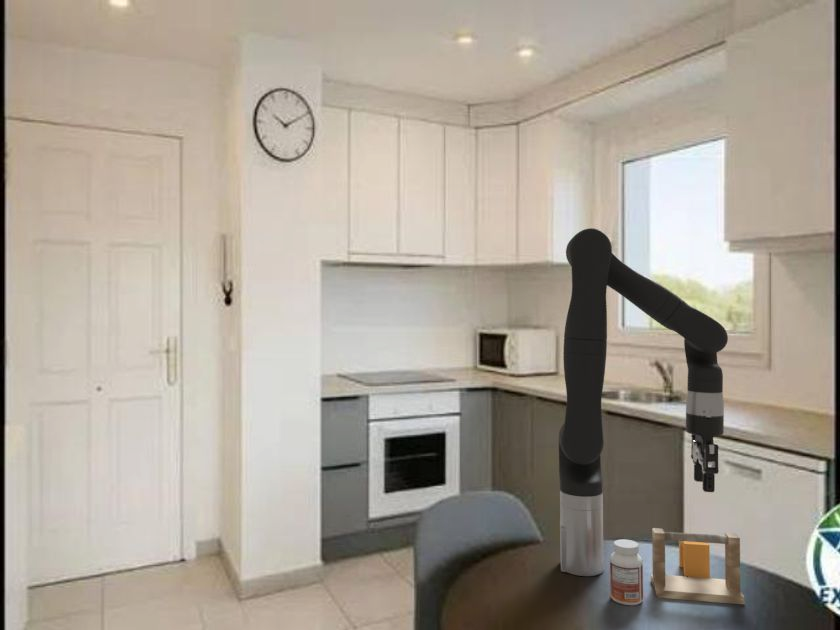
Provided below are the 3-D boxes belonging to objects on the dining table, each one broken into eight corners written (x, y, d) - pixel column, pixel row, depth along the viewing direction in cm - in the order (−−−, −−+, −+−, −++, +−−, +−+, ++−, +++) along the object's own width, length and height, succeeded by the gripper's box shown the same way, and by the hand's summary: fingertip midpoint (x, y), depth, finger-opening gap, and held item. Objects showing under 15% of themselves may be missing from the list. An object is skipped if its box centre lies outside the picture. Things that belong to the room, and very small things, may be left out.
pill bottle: (621, 589, 128) (621, 535, 128) (649, 600, 123) (648, 543, 123) (604, 598, 124) (603, 542, 124) (631, 609, 119) (631, 551, 119)
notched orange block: (684, 576, 134) (684, 543, 134) (679, 565, 140) (678, 534, 140) (709, 578, 133) (709, 545, 133) (703, 567, 139) (702, 535, 139)
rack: (657, 597, 124) (656, 537, 124) (651, 580, 132) (650, 524, 132) (744, 604, 121) (743, 542, 121) (732, 587, 128) (732, 528, 128)
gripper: (679, 406, 144) (679, 477, 144) (693, 416, 130) (692, 494, 130) (715, 408, 142) (714, 479, 142) (732, 417, 128) (731, 496, 128)
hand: (703, 486), depth 136 cm, fingers open, 8 cm apart
